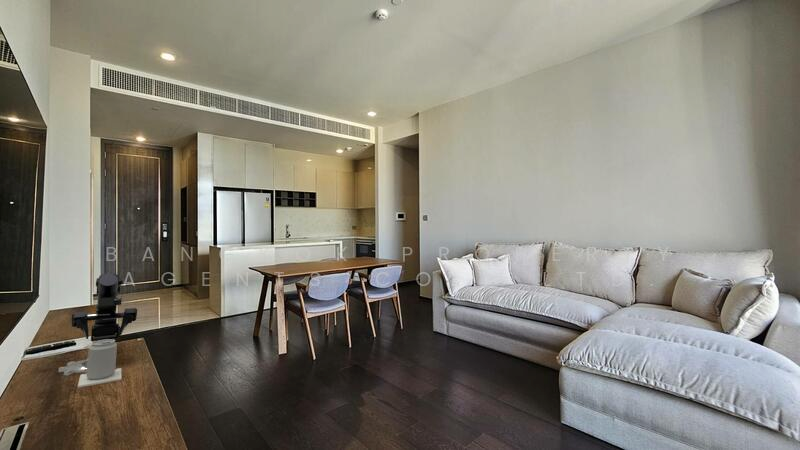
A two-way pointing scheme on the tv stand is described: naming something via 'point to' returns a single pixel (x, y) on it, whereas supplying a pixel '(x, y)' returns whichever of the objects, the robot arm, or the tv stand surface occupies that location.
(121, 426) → the tv stand surface
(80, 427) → the tv stand surface
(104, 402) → the tv stand surface
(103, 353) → the can
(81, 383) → the pad
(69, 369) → the sprocket
